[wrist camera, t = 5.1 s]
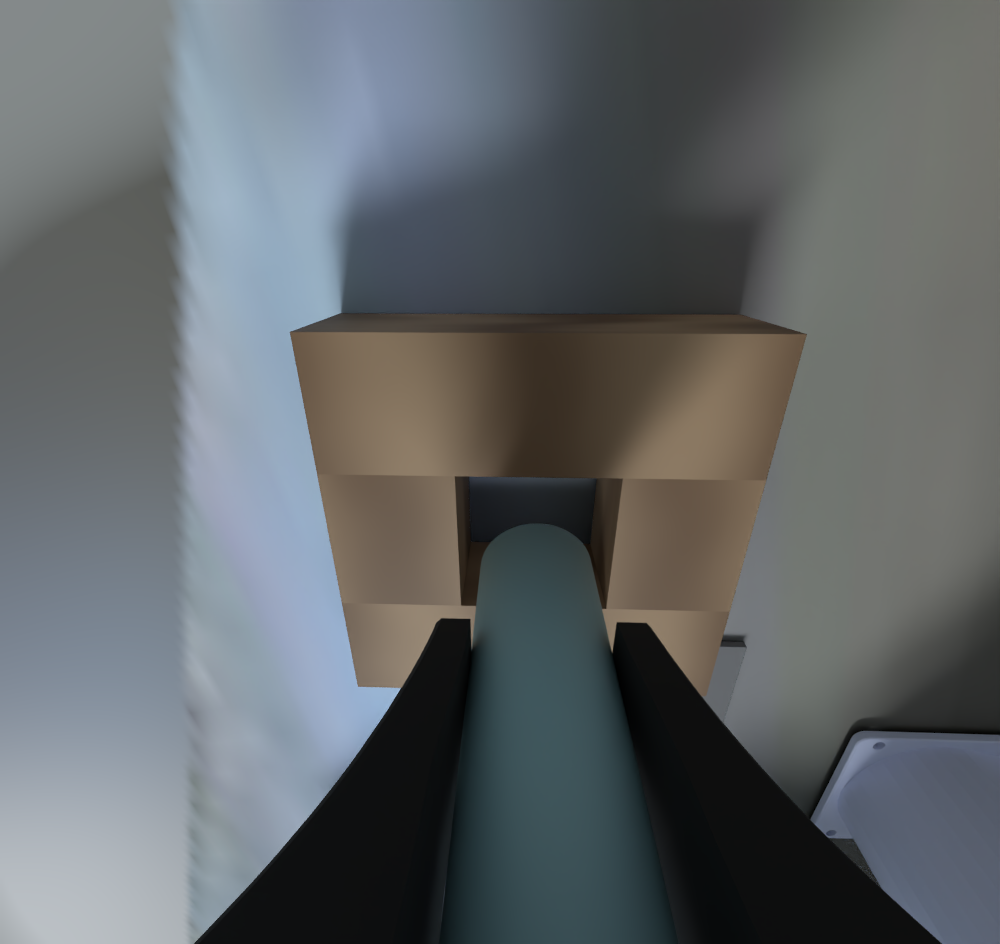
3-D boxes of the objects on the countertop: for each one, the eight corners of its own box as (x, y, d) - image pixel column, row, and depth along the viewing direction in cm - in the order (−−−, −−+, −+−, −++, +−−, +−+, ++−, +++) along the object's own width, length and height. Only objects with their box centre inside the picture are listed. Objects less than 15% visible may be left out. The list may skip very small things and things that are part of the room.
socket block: (740, 314, 14) (806, 333, 11) (674, 621, 19) (705, 696, 16) (340, 313, 14) (290, 331, 11) (383, 615, 19) (358, 686, 16)
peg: (593, 521, 12) (757, 1124, 4) (589, 611, 13) (702, 1193, 5) (476, 525, 12) (395, 1109, 4) (484, 612, 13) (435, 1181, 5)
